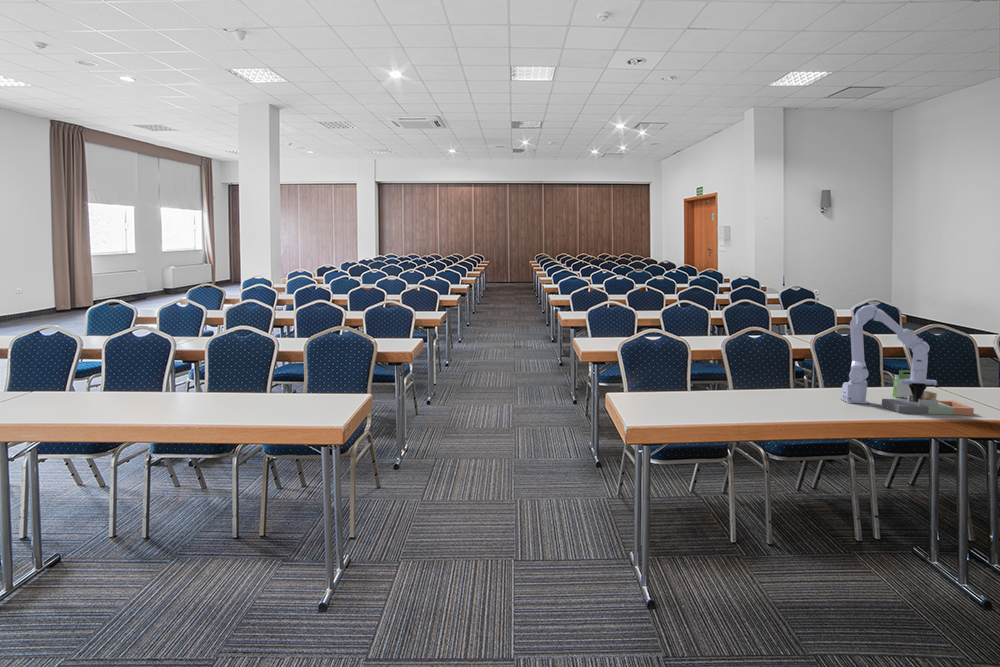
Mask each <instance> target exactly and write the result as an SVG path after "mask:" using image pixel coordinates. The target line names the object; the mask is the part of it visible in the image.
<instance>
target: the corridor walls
mask: <svg viewBox="0 0 1000 667" xmlns="http://www.w3.org/2000/svg"><path fill="white" fill-rule="evenodd" d="M907 399H908V400H907V401H914V400H913V395H908V398H907ZM939 400H940V399H936V400H932V399H918V405H919V406H938V401H939Z"/></svg>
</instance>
